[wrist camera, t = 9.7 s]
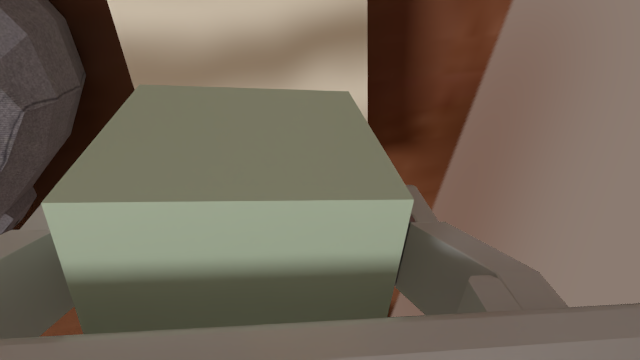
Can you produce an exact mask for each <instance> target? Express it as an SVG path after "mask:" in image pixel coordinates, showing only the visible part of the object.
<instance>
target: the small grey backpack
mask: <svg viewBox="0 0 640 360" xmlns="http://www.w3.org/2000/svg"><path fill="white" fill-rule="evenodd" d="M85 78H86V73H85V71H84V68H83V65H82V62H81V60H80V57H79V54H78V52H77V49H76V46H75V43H74V41H73V38H72V35H71V33H70V30H69V27H68V24H67V22H66V19H65V18H64V17H63V16H62V15H61V14H60V13H59V12H58V10H57V9H56V8H55V7H54V6H53V5H52V4H51V3H50V2H49V1H48V0H0V235H1V234H3V233H5V232H6V231H7V230H8V231H10V230H12V229H13V228H14V227H15V226H16V225H17V224H18V223H19V222H20V221H21V220H22V219H23V218H24V216H25V215H26V213H27V211H28V210H29V208H30V207H31V205H32V203H33V202H34V200H35V198H36V197H37V194H36V192H35V190H34V188H33V187H32V186H33V185H34V184H35V182H36V181H37V179H38V178H39V177H40V175H41V174H42V172H43V171H44V169H45V168H46V167H47V165H48V164H49V163H50V161H51V160H52V159H53V157H54V156H55V155H56V153H57V152H58V151H59V149H60V148H61V147H62V145H63V144H64V143H65V141H66V140H67V138H68V137H69V136H70V134H71V132H72V128H73V124H74V120H75V116H76V112H77V108H78V105H79V101H80V97H81V93H82V89H83V85H84V82H85ZM8 231H7V232H8Z"/></svg>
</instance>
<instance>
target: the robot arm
mask: <svg viewBox="0 0 640 360" xmlns="http://www.w3.org/2000/svg"><path fill="white" fill-rule="evenodd" d="M406 187H407V189H408V190H409V192H410V194H411V195H412V197H413V199H414V202H413V207H412V211H411V215H410V220H409V224H408V228H407V233H406V237H405V241H404V246H403V250H402V255H401V259H400V263H399V268H398V272H397V276H396V281H395V285H394V286H396V288H397V289H398V290H399V291H400V292H401V293H402V294H403V295H404V296H406V297H407V298H408V299H409V300H410V301H411V302H412V303H413V304H414V305H415V306H416V307H417V308H419V309H420V310H421V311H422V312H423V313H424V314H425V315H424V316H406V317H388V318H370V319H352V320H334V321H316V322H298V323H280V324H262V325H245V326H227V327H209V328H190V329H172V330H154V331H136V332H118V333H100V334H82V335H64V336H46V337H39V336H40V335H41V334H43V333H44V332H45V331H46V330H47V329H48V328H50V327H51V326H52V325H53V324H54V323H55V322H57V321H58V320H59V319H60V318H61V317H62V316H64V315H65V314H66V313H67V312H68V311H69V310H71V309H72V308H73V307H74V303H73V300H72V297H71V294H70V291H69V288H68V285H67V282H66V279H65V275H64V272H63V269H62V266H61V263H60V260H59V257H58V254H57V251H56V248H55V245H54V242H53V239H52V236H51V233H50V229H49V226H48V223H47V220H46V217H45V214H44V211H43V208H42V205H40V206H39V207H38V208H37V209H36V211H35V212H34V213H33V214H32V215H31V217H30V218H29V219H28V220H27V221H26V222H25V224H24V225H23V226H22V227H21V228H20V230H10V231H8V232H5V233H3V234H1V235H0V360H640V303H638V304H623V305H622V304H621V305H603V306H584V307H568V306H567V305H566V303H565V302H564V301H563V300H562V299H561V298H560V296H559V295H558V294H557V293H556V292H555V290H554V289H553V288H552V287H551V286H550V285H549V283H548V282H547V281H546V280H545V279H544V278H543V276H542V275H541V274H540V273H539V272H538V271H536V270H534V269H532V268H530V267H529V266H527V265H525V264H523V263H521V262H519V261H517V260H515V259H514V258H512V257H510V256H508V255H506V254H504V253H502V252H500V251H499V250H497V249H495V248H493V247H491V246H489V245H487V244H486V243H484V242H482V241H480V240H478V239H476V238H474V237H472V236H470V235H469V234H467V233H465V232H463V231H461V230H459V229H458V228H456V227H454V226H452V225H450V224H448V223H446V222H439V221H438V220H437V218H436V217H435V215H434V213H433V212H432V210H431V209H430V207H429V206H428V204H427V203H426V201H425V200H424V198H423V197H422V195H421V194H420V192H419V191H418V189H417V188H416V187H415V186H413V185H406Z"/></svg>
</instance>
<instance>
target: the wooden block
mask: <svg viewBox="0 0 640 360" xmlns="http://www.w3.org/2000/svg"><path fill="white" fill-rule="evenodd" d="M107 2H108V5H109V8H110V12H111V15H112V18H113V21H114V25H115V28H116V31H117V34H118V38H119V41H120V44H121V47H122V51H123V54H124V57H125V60H126V64H127V67H128V70H129V73H130V77H131V80H132V83H133V86H134V90H135V89H136V88H137V87H138V86H139V84H140V85H170V86H200V87H231V88H261V89H292V90H322V91H349V93H350V95H351V96H352V98H353V100H354V101H355V103H356V105H357V106H358V108H359V109H360V111H361V113H362V114H363V116H364V118H365V119H366V121H367V123H368V48H367V0H107Z"/></svg>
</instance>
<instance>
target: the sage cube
mask: <svg viewBox="0 0 640 360" xmlns="http://www.w3.org/2000/svg"><path fill="white" fill-rule="evenodd" d="M413 202H414V199H413V197H412V195H411V194H410V192H409V190H408V189H407V187H406V185H405V184H404V182H403V180H402V179H401V177H400V175H399V174H398V172H397V170H396V169H395V167H394V166H393V164H392V162H391V161H390V159H389V157H388V156H387V154H386V152H385V151H384V149H383V147H382V146H381V144H380V142H379V141H378V139H377V138H376V136H375V134H374V133H373V131H372V129H371V128H370V126H369V124H368V123H367V121H366V119H365V118H364V116H363V114H362V113H361V111H360V109H359V108H358V106H357V105H356V103H355V101H354V100H353V98H352V96H351V95H350V93H349V91H322V90H292V89H261V88H231V87H200V86H170V85H140V84H139V86H138V87H137V88H136V89H135V91H134V92H133V93H132V94H131V95H130V97H129V98H128V99H127V100H126V101H125V103H124V104H123V105H122V106H121V107H120V109H119V110H118V111H117V112H116V113H115V115H114V116H113V117H112V118H111V119H110V121H109V122H108V123H107V124H106V125H105V127H104V128H103V129H102V130H101V131H100V133H99V134H98V135H97V136H96V137H95V139H94V140H93V141H92V142H91V143H90V145H89V146H88V147H87V148H86V149H85V151H84V152H83V153H82V154H81V155H80V157H79V158H78V159H77V160H76V161H75V163H74V164H73V165H72V166H71V167H70V169H69V170H68V171H67V172H66V173H65V175H64V176H63V177H62V178H61V179H60V181H59V182H58V183H57V184H56V185H55V187H54V188H53V189H52V190H51V191H50V193H49V194H48V195H47V196H46V197H45V199H44V200H43V201H42V202H41V205H42V208H43V211H44V214H45V217H46V220H47V223H48V226H49V229H50V233H51V236H52V239H53V242H54V245H55V248H56V251H57V254H58V257H59V260H60V263H61V266H62V269H63V272H64V275H65V279H66V282H67V285H68V288H69V291H70V294H71V297H72V300H73V303H74V306H75V309H76V312H77V315H78V318H79V322H80V325H81V328H82V331H83V334H100V333H118V332H136V331H154V330H172V329H190V328H209V327H227V326H245V325H262V324H280V323H298V322H316V321H334V320H352V319H370V318H387V315H388V311H389V307H390V302H391V298H392V294H393V289H394V285H395V281H396V276H397V272H398V268H399V263H400V259H401V255H402V250H403V246H404V241H405V237H406V233H407V228H408V224H409V220H410V215H411V211H412V207H413Z"/></svg>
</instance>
